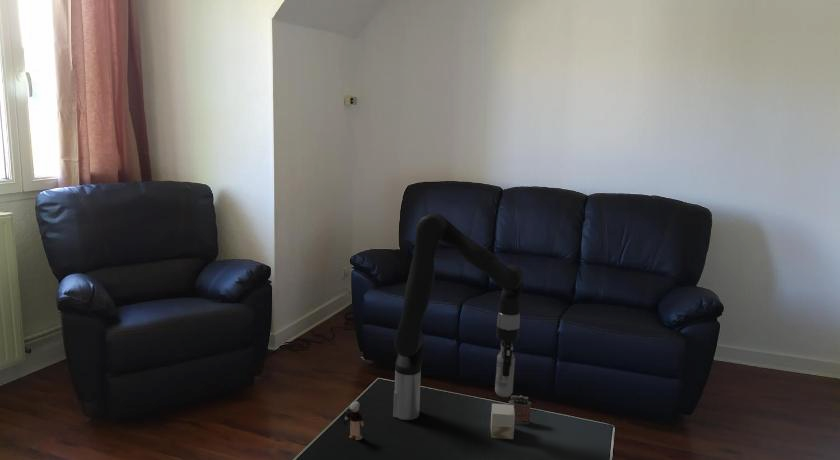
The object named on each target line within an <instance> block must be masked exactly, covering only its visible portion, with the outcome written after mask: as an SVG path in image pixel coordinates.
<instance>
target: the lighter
mask: <svg viewBox="0 0 840 460" xmlns="http://www.w3.org/2000/svg"><path fill="white" fill-rule="evenodd" d="M507 405H514V413H515V421H514V425H530V423H531V421H530V416H531V407H532V403H531V402H530V401H529V397H528V396H523V395H521V394H520V395H519V396H518V395H512V394H511V395H510V399H509V400H508V404H507Z"/></svg>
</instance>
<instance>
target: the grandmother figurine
mask: <svg viewBox="0 0 840 460" xmlns="http://www.w3.org/2000/svg"><path fill="white" fill-rule="evenodd" d="M360 406H361V405H360V402H359V401H353V402H352V403H350V406H349V410H351V411H349V412H347V413H346V414H345V417H344V420H345V421H347V420H348V419H350V422H349V429H350V431H349V433H350V434H349V438H350V439H354V440H356V441H359V440H362V439H363V435H361V427H364V426H365V423H364V419H363V417H362V415H361V413H360V412H359V410H360Z"/></svg>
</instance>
